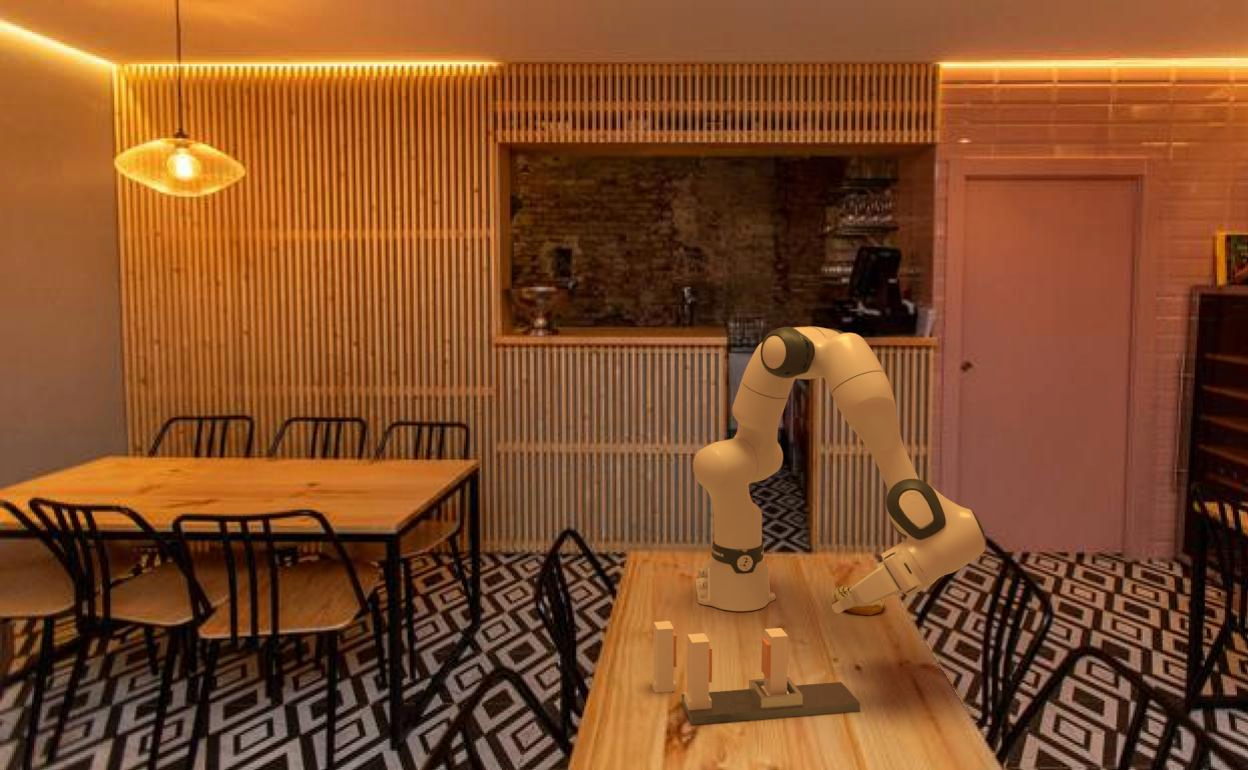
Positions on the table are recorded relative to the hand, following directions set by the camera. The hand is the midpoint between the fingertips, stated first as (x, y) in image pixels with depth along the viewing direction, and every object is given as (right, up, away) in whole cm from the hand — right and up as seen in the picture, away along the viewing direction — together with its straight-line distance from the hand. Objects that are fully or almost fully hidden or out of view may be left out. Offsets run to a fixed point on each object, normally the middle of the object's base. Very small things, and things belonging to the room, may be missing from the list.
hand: (836, 608), depth 154 cm
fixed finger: (-26, -14, -10) cm, 32 cm away
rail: (-14, -15, -7) cm, 22 cm away
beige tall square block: (-13, -14, -7) cm, 20 cm away
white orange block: (-32, -15, 0) cm, 35 cm away
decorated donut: (+15, -11, +39) cm, 44 cm away
